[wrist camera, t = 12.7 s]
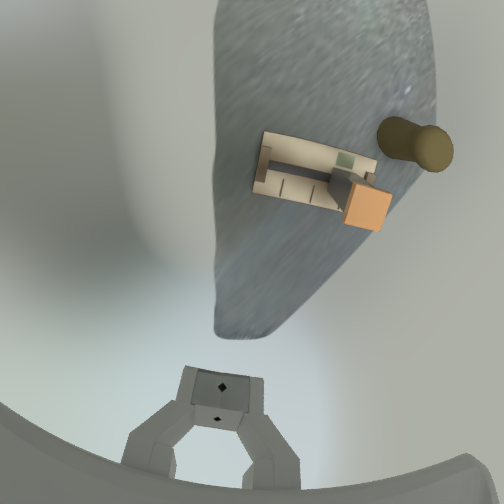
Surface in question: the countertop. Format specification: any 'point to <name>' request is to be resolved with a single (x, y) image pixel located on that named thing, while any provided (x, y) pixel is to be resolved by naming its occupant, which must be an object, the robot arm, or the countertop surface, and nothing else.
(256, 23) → the countertop surface
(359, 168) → the fader board
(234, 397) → the robot arm
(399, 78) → the countertop surface
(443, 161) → the cork
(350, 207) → the fader knob
